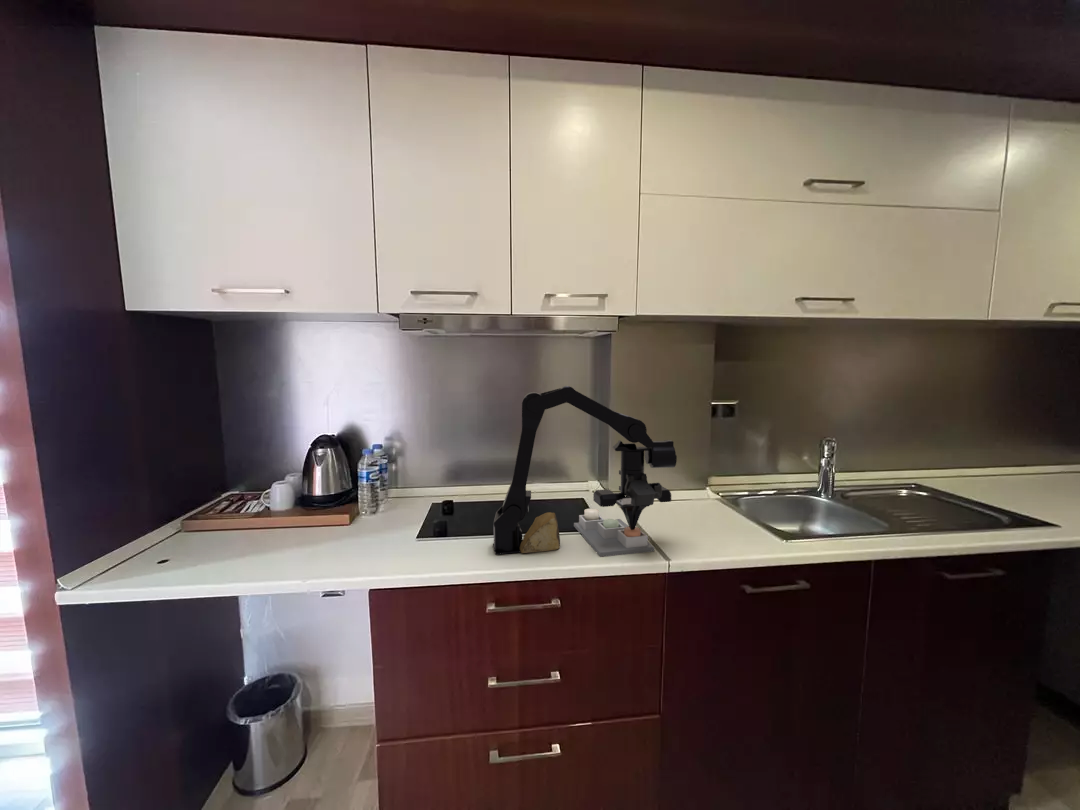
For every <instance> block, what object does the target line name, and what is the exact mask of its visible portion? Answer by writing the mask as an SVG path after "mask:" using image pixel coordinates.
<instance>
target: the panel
mask: <svg viewBox="0 0 1080 810" xmlns="http://www.w3.org/2000/svg"><path fill="white" fill-rule="evenodd" d="M604 520H605V518H603V517H602V516H601V515H600V514H599V520H591V521H586V520H585V516H584V514H579V515H578V522H573V528H575V530H577V532H578V533H579V532H580V533H581V534H582V535H581V534H580V533H579V534H580V535H581V536H582V538H584V539H585V541H586V542H587V544H588V545H589V546H590V545H591V546H590V547H591V548H592V549H593V550H594V552H595V553H596V552H597V553H596V554H597V556H598V557H600V558H601V557H602V556H603V557H611V556H619V555H620V556H622V555H631V554H640V553H649V552H650V553H651V552H655V547H654V545H652V544H651V543H650V542H649V540H648V537H649V536H648V535H647V534H646V533H644V532H643V531H642V530H641V536H634V537H627V536H626V535H625V534H624V528H625V527H629V525H628V523H625V521H623V520H622V519H621V518H615V520H618V521H619V527H618V528H607V529H606V528H605V527H604V526H603V521H604Z"/></svg>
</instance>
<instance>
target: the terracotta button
mask: <svg viewBox="0 0 1080 810" xmlns="http://www.w3.org/2000/svg"><path fill="white" fill-rule="evenodd" d="M641 531H642V530H641V528H639V527H637V526H636V527H635V529H634V530H631V529H630V528H629V527H625V528H624V534H625V535H626V536H627V537H634V536H641Z"/></svg>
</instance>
